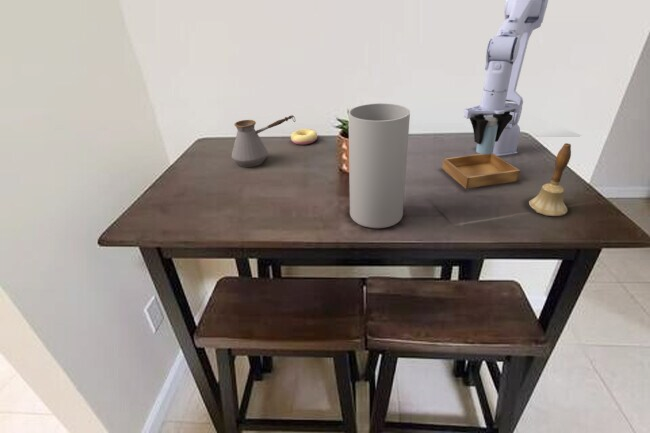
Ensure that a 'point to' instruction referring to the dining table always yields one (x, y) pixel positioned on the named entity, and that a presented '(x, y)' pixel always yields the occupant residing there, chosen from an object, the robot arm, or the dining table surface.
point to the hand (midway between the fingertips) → (485, 141)
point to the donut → (304, 136)
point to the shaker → (488, 137)
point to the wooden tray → (480, 170)
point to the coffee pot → (251, 143)
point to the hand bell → (553, 188)
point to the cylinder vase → (377, 163)
